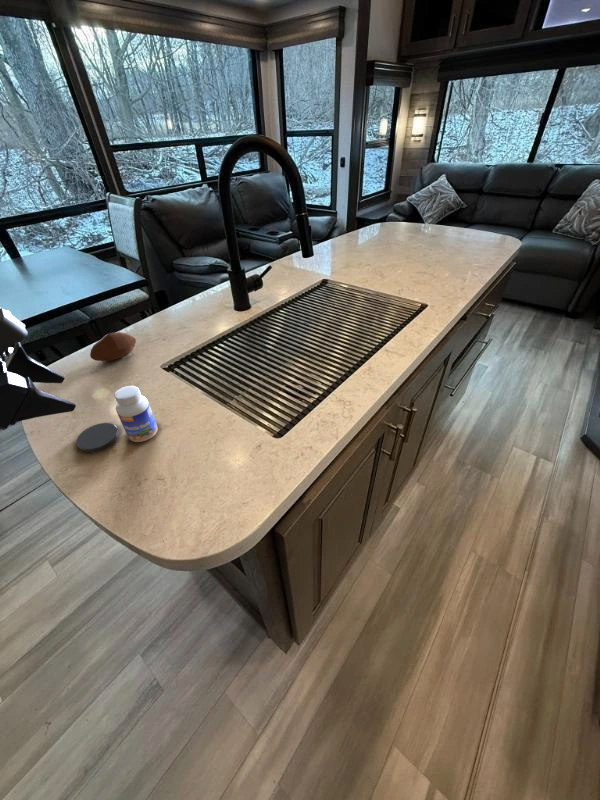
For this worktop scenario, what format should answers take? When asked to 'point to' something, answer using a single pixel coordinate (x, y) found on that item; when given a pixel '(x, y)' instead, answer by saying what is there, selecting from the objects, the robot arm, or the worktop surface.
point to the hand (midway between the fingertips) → (68, 393)
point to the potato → (113, 347)
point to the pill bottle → (135, 414)
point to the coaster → (97, 437)
